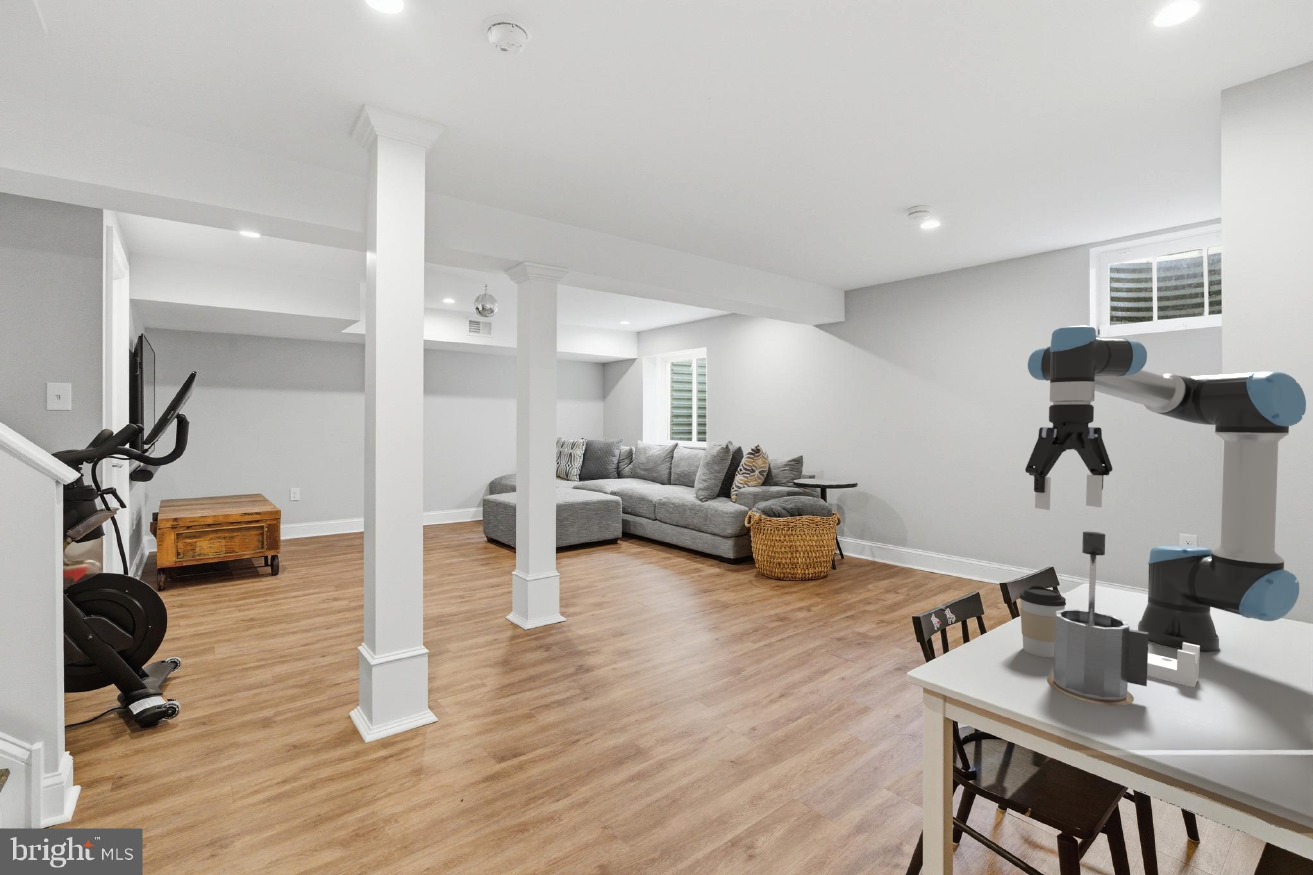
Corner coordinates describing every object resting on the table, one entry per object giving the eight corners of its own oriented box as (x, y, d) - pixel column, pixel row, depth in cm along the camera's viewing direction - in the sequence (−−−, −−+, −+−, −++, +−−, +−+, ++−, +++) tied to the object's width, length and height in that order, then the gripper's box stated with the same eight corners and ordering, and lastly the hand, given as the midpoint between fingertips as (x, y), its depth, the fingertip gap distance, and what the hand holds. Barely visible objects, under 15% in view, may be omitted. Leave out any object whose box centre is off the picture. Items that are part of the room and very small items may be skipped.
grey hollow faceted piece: (1102, 675, 126) (1105, 609, 125) (1150, 702, 114) (1153, 629, 113) (1040, 675, 125) (1042, 609, 125) (1081, 702, 113) (1083, 629, 113)
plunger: (1095, 626, 123) (1098, 529, 123) (1126, 640, 115) (1130, 537, 115) (1057, 626, 123) (1059, 529, 122) (1085, 640, 115) (1089, 537, 114)
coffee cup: (1072, 663, 133) (1074, 596, 133) (1027, 659, 135) (1029, 593, 135) (1053, 648, 142) (1055, 585, 142) (1011, 645, 144) (1013, 582, 143)
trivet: (1097, 676, 127) (1097, 673, 127) (1153, 708, 113) (1153, 705, 113) (1031, 676, 126) (1031, 673, 126) (1079, 708, 112) (1079, 705, 112)
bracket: (1198, 681, 125) (1199, 645, 125) (1193, 691, 121) (1194, 654, 120) (1121, 662, 135) (1122, 628, 135) (1113, 670, 130) (1114, 636, 130)
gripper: (1099, 404, 129) (1096, 502, 130) (1006, 403, 123) (1004, 507, 123) (1135, 403, 122) (1132, 507, 123) (1039, 402, 115) (1036, 512, 116)
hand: (1068, 507), depth 123 cm, fingers open, 13 cm apart
